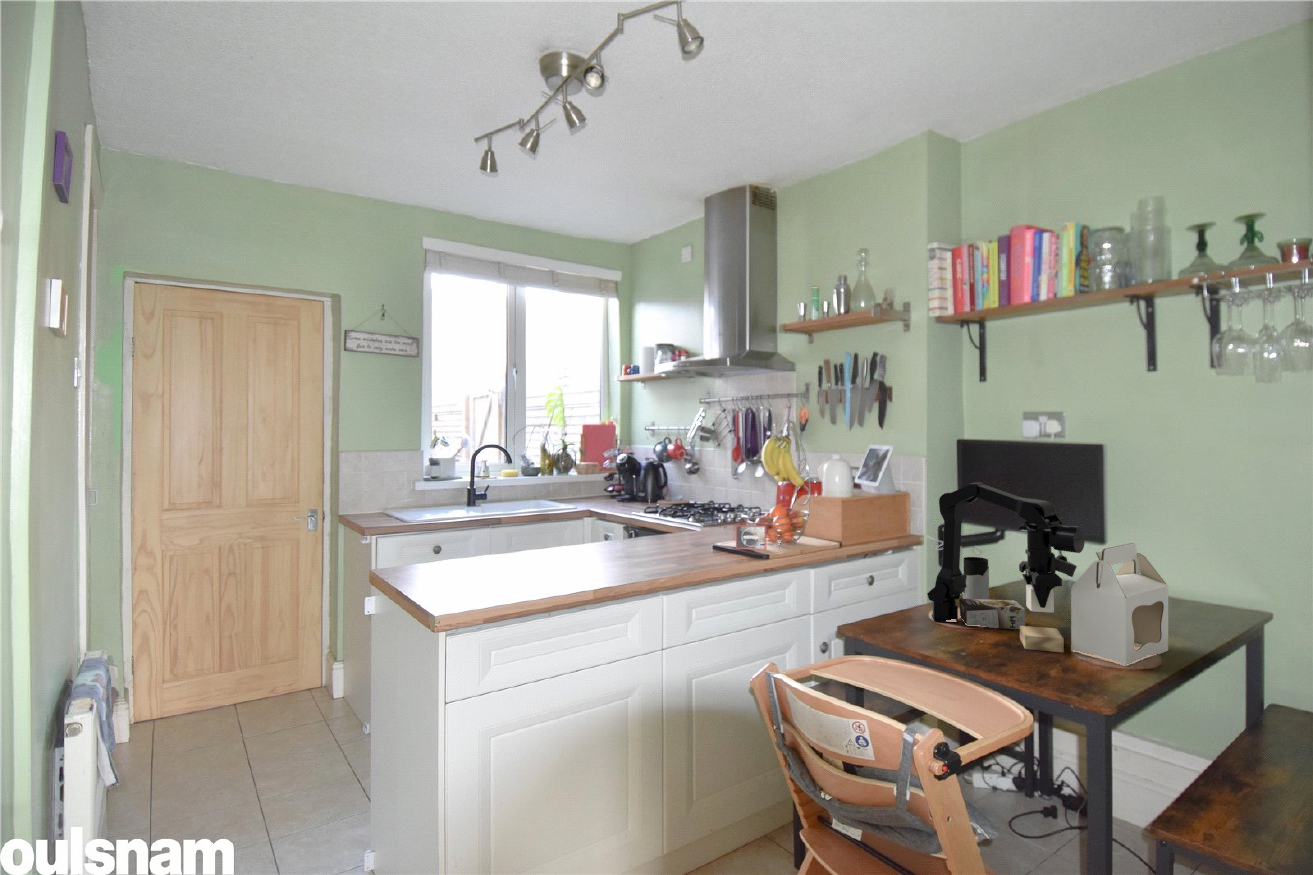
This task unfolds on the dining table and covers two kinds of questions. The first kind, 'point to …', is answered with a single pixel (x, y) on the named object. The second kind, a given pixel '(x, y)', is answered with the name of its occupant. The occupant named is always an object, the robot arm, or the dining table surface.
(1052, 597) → the off-white plain cube
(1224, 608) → the dining table surface
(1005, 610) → the coffee box
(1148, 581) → the gable box
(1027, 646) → the oak block
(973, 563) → the glass holder
